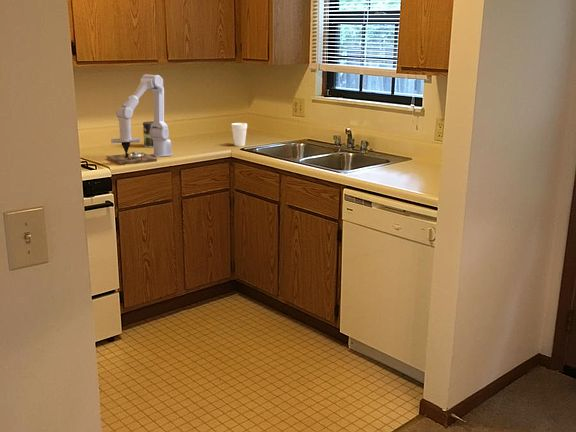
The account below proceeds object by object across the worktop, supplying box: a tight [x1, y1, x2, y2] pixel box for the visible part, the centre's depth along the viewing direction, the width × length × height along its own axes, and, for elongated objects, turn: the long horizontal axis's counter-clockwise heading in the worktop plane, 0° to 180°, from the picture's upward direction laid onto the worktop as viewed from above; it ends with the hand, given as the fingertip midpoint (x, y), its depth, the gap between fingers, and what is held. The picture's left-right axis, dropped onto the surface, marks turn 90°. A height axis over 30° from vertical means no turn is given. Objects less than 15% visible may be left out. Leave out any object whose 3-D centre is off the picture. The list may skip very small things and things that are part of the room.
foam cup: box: [231, 122, 248, 147], centre depth 373 cm, size 10×9×13 cm
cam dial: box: [125, 151, 144, 159], centre depth 327 cm, size 14×10×3 cm
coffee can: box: [142, 120, 154, 149], centre depth 367 cm, size 10×10×14 cm
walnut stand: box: [106, 152, 158, 166], centre depth 327 cm, size 20×20×4 cm
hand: (126, 156), depth 321 cm, fingers closed, pressing on cam dial
